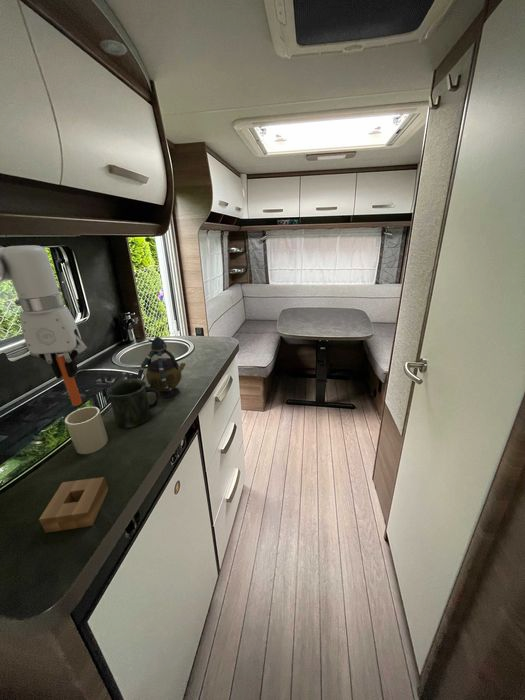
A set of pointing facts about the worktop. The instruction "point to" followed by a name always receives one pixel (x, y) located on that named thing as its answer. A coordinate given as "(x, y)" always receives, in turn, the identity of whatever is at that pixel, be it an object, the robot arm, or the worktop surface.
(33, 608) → the worktop surface
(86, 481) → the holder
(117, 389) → the mug
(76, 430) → the cup
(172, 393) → the teapot
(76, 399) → the orange rod
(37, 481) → the worktop surface
